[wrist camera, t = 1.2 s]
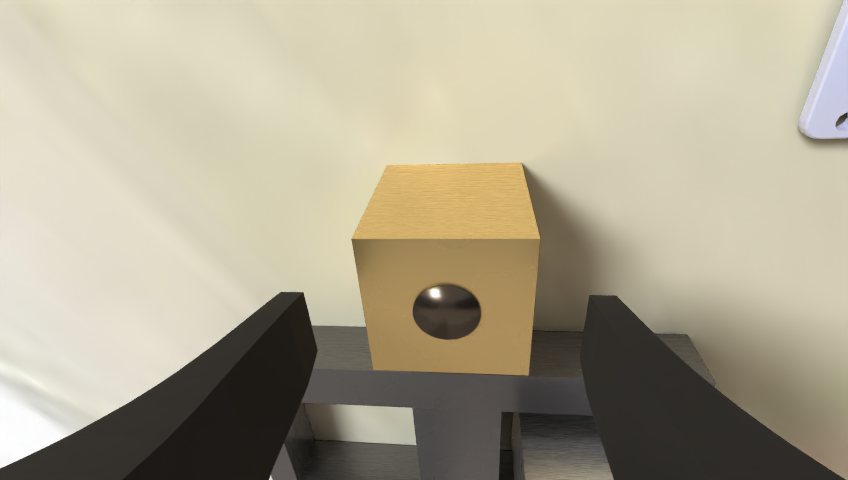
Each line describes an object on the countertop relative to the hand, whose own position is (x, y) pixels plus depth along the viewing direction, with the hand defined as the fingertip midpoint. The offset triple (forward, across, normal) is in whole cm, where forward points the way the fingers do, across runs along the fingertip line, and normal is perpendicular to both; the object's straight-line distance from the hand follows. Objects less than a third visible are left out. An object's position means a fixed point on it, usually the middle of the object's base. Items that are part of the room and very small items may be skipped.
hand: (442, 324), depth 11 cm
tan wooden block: (+5, 0, 0) cm, 5 cm away
